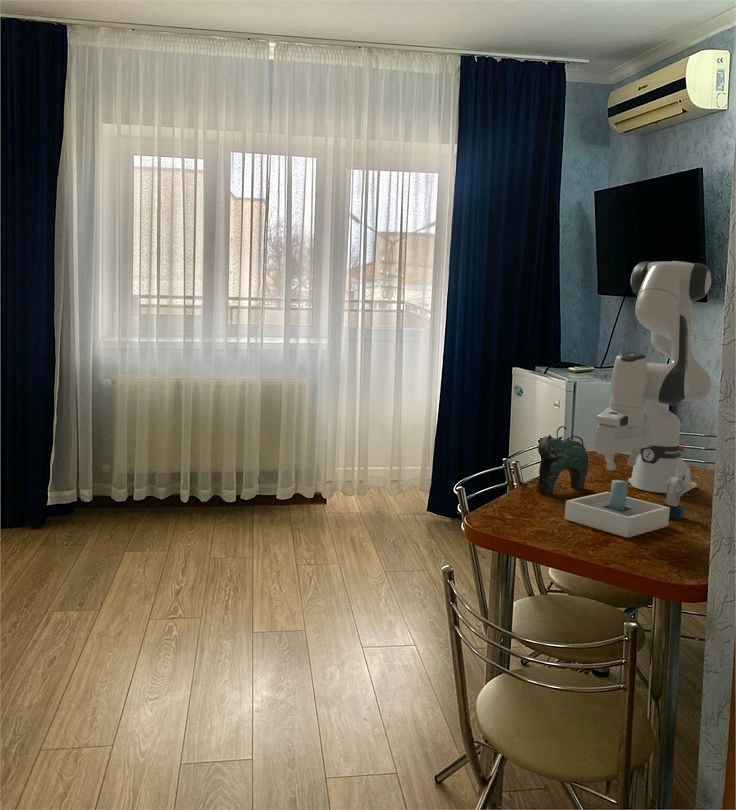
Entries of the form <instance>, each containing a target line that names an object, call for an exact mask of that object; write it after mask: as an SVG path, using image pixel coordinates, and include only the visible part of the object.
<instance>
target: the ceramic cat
mask: <svg viewBox="0 0 736 810" xmlns="http://www.w3.org/2000/svg"><path fill="white" fill-rule="evenodd" d="M562 428H563V429H564V430H565V431H567V427H566V426H564V425H561V426H559V427H558V428H557V430H556V437H553V436H552V434H549V435H547V436H543V437H542V438H541V439H540V440H539V443H538V448H537V452H538V454H539V456H540V464H539V469H538V475H539V476H538V483H537V485H538V487H537V488H538V491H540V492H542V493H545V494H544V495H546V494H548V495H552V493H554V490H555V489H554V488H555V486H556V482H557V480H558V477H559V476H560V473H561V472H562V471H565V470H568V473H569V477H570V488H571V487H572V488H573V489H575V490H577V489H578V490H582V489H584V488H585V482H586V479H587V476H588V475H587V474H588V472H589V471H588V470H589V469H588V468H589V458H588V457H589V456H588V453H587V450H586V447H585V445H584V440H583V438H582V437H580V436H577V435H572V436H571V435H570V437H567V438H564V436H559V434H558V433H559V431H560V429H562ZM558 436H559V437H558ZM563 438H564V439H563ZM571 438H575V439H579V440H580V441H577V440H572V439H571ZM538 491H537V492H538ZM542 493H541V494H542Z"/></svg>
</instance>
